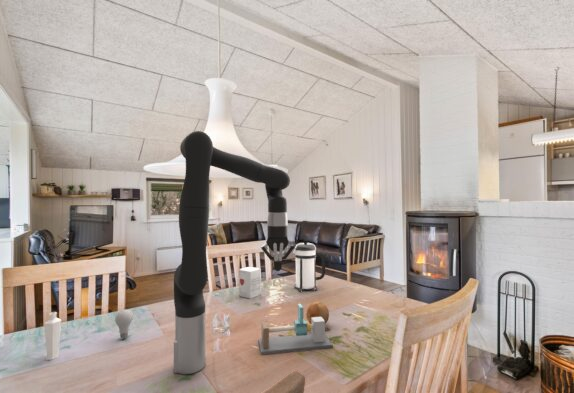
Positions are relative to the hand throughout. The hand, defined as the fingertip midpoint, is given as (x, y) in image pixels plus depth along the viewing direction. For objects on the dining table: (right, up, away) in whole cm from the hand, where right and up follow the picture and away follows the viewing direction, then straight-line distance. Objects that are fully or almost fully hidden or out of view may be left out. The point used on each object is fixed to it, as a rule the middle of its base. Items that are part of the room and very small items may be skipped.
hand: (277, 270), depth 111 cm
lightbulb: (-60, -28, +4) cm, 66 cm away
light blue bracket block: (+9, -23, -1) cm, 25 cm away
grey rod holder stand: (+6, -27, -1) cm, 28 cm away
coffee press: (+16, -28, +68) cm, 75 cm away
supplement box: (-17, -28, +55) cm, 64 cm away
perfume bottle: (-77, -27, -10) cm, 82 cm away
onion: (+17, -27, +15) cm, 35 cm away
